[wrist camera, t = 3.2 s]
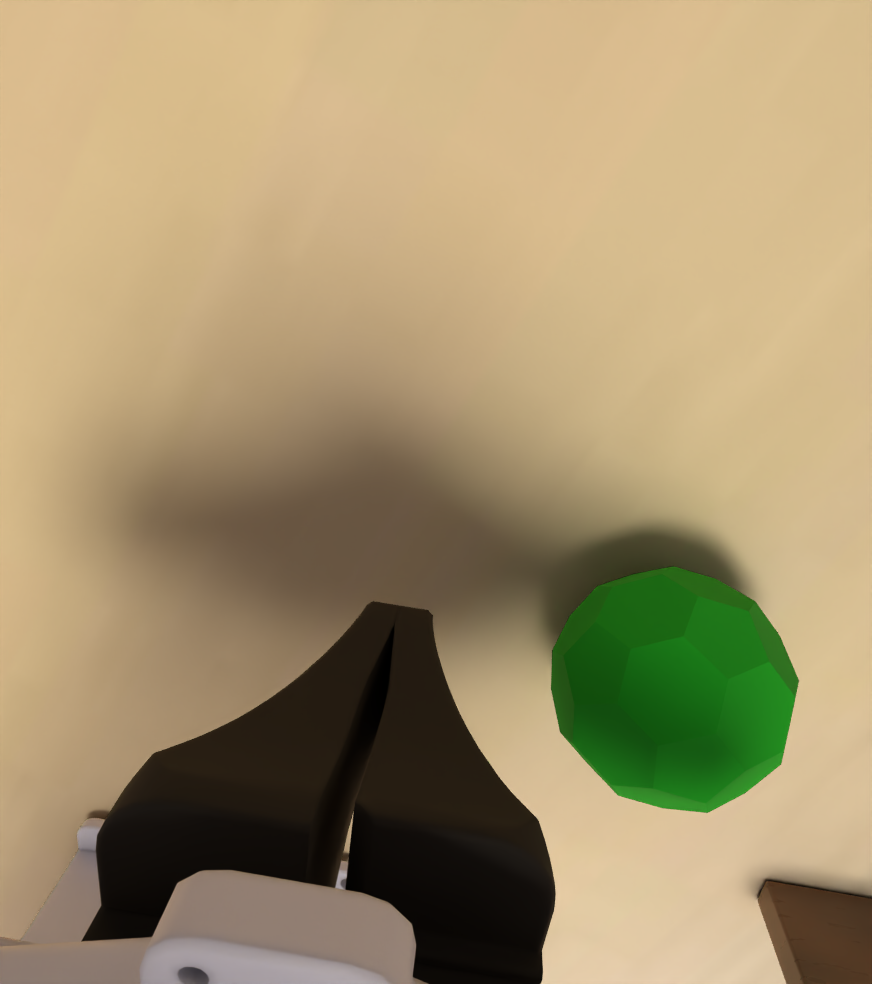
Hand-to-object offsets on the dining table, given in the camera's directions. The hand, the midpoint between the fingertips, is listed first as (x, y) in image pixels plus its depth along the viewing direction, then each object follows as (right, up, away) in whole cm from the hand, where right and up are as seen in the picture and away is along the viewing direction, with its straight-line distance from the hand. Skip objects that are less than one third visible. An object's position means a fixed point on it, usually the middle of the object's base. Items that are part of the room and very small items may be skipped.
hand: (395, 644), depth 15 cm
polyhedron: (+6, 0, +2) cm, 7 cm away
